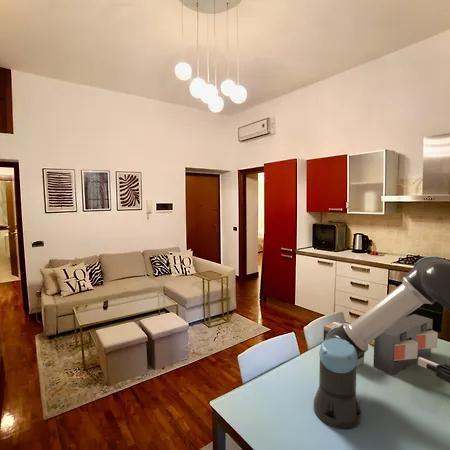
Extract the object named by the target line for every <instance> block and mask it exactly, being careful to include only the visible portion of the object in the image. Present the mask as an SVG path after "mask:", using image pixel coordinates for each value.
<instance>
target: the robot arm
mask: <svg viewBox="0 0 450 450" xmlns="http://www.w3.org/2000/svg"><path fill="white" fill-rule="evenodd" d="M436 302H437V303H438V304H440V305H441V306H442V307H443V308H445V310H446V311H448V312H449V313H450V261H449V260H448V259H446V258H444V257H440V256H430V255H429V256H424V257H422V258H420V259H418V260H417V261H416V262H415V263H414V265H413V267H412V269H411V270H410V271H408V272H407V273H406V274H405V275H403V276H402V283H401V284H400V285H398V286H397V287H396V288H394V290H392V291H391V292H390V293H388V294H387V295H385V296H384V297H383V298H382V299H381V300H379V301H378V302H376V303H375V304H374V305H373V306H372V307H371V308H369V309H368V310H366V311H365V312H364V313H362V314H361V315H360V316H359V317H358V318H356V319H355V320H353V321H352V322H351V323H350V322H349V323H348V322H344V323H342V325H341V326H340V327H335V328H333V329H331V330H330V331H329V332H328V334H327V335H326V337H325V341H324V340H323V341H322V342H321V344H320V347H319V352H318V353H319V374H318V375H319V378H318V382H319V383H318V385H319V386H318V389H317V391H316V394H315V396H314V399H313V411H314V414H315V415H316V416H317V418H318V419H319V420H320V421H322V422H323V423H324V424H327V425H328V426H331V427H333V428H337V429H343V430H348V429H349V430H350V429H353V428H356V427H357V426H359V425H360V423H361V420H362V410H361V407H360V404H359V401H358V396H357V370H358V369H357V368H358V367H357V360H358V359H357V358H358V357H359V356H361V355H362V354H363V353H364V354H365V353H366V352H367V351H368V350H369V344H370V342H372V341H373V340H374V339H376V338H377V337H378V336H380V335H381V334H383V333H384V332H385V331H387V330H388V329H389V328H391V327H392V326H394V325H395V324H396V323H398V322H399V321H400V320H402V319H403V318H405V317H408V316H410V314H412V313H413V312H414V311H416V310H417V309H418V308H420V307H421V306H422V305H424V304H427V305H428V304H429V305H433V304H434V303H436ZM417 365H418V366H420V367H422V368H425V369H427V370H429V371H432V372H434V373H435V377H437V378H439V379H441V380H443V381H444V382H446V383H448V384H450V364H447V363H444V364H438V363H436V362H433V361H431V360H429V359H426V358H421V357H419V358H418V362H417Z"/></svg>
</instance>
